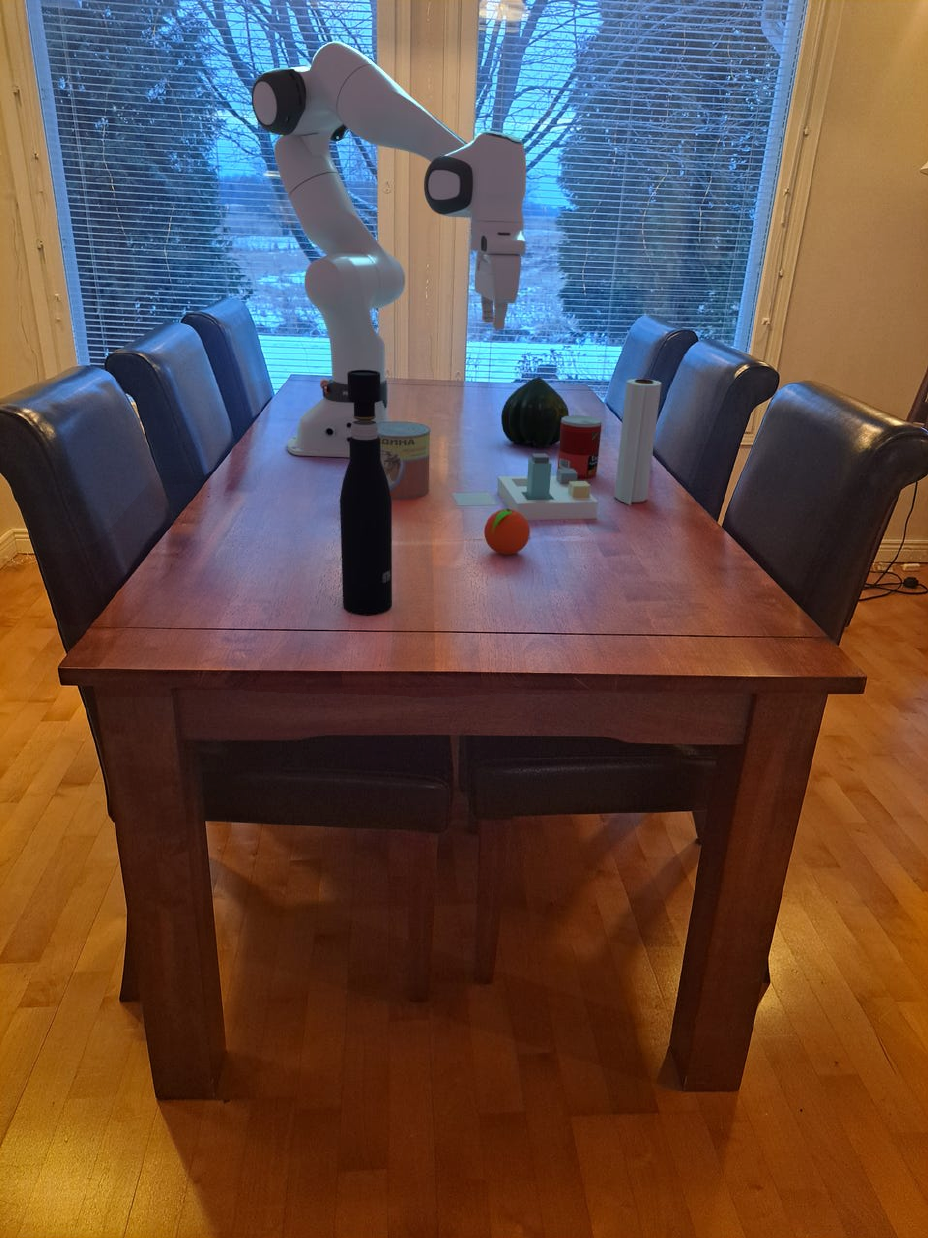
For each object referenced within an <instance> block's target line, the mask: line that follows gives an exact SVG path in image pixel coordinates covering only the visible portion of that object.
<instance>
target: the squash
mask: <svg viewBox="0 0 928 1238" xmlns="http://www.w3.org/2000/svg"><path fill="white" fill-rule="evenodd" d="M569 413H570V412H569V408H568V405H567V404H566V402H565V400H564V399H563V397H562V396H561V395H560V394H559V393H558V392H557V391H556V390H555V389H554V388H553V387H552V386H550V384H549V383H548V382H546V380H544V379H543V378H541V377H540V376H538V377H534V378H532V379H530V380H528V381H527V382H526V383H524V384H522V385H521V386H520V387H518V388H517V389H515V391H513V393H512V394H511V395H510V396H509V397H508V398H507V399H506V401H505V403H504V405H503V407H502V410H501V426H502V427H501V428H502V431H503V433H504V435H505V437H506V438H507V439H508V440H509V441H510V442H511V443H514V444H517V445H522V444H525V443H529V444H532V443H533V445H534V446H535V447H536V448H538V449H544V448H546V447H547V446H548V447H549V446H553V445H556V444H557V443H559V440H560V427H561V420H562V417H565V416H570V414H569Z"/></svg>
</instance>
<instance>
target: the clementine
mask: <svg viewBox="0 0 928 1238" xmlns="http://www.w3.org/2000/svg"><path fill="white" fill-rule="evenodd" d="M530 531H531V528H530V526H529V523H528V520H526V519H525V517H524V516H523V515H522V514H520V513H519V512H517V511H515V510H511V509H508V508H503V509H500V510H498V511H495V512H494V513H493V514H491V515H490V517H489V518H488V519H487V521H486V523H485V526H484V531H483V532H484V539H485V542H486V544H487V545H488V546H489V548H490V549H491V550H492V551H493V552H495V553H497V554H498V555H505V556H508V555H515V554H516V553H518V552H520V551H521V550H523V549H524V547H525V546H527V544H528V543H529V539H530V535H531V532H530Z"/></svg>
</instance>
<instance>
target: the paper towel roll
mask: <svg viewBox="0 0 928 1238" xmlns="http://www.w3.org/2000/svg"><path fill="white" fill-rule="evenodd" d="M625 385H626V386H625V396H624V404H623V414H622V415H623V416H622V424H621V431H620V432H621V433H620V440H619V449H618V459H617V467H616V468H617V470H616V479H615V486H614V487H615V488H614V498H616V499H617V500H618V501H619V502H623V503H625V504H627V505H629V506H632V503H642V502H645V501H646V500H648V495H649V494H648V493H649V485H650V479H651V478H650V475H651V469H652V468H651V467H652V462H653V461H652V460H653V455H654V453H653V452H654V447H655V446H654V444H655V437H656V429H657V423H658V414H659V405H660V396H661V391H662V390H661V389H662V382H661V381H659V380H654V379H644V378H634V379H627V380H626V384H625Z"/></svg>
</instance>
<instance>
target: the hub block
mask: <svg viewBox="0 0 928 1238" xmlns="http://www.w3.org/2000/svg"><path fill="white" fill-rule="evenodd" d="M577 475H578V473H577V472H576V471H575V470H574V469H557V468H556V475H551V478H550V491H549V500H527V499H526V491H527V476H528V475H521V476H519V475H512V476H504V475H503V476H502V475H501V476H500V475H499V476H497V486H496V487H497V489H496V490H497V491H496V493H497V494H498V495H499V498H501V500H502V501H503V503H504V504H505V506H506V507H507V509H511V510H515V511H517V512H519V513H520V514H522V515H523V516H524V517H525V519H526V520H527V521H543V520H545V521H546V520H547V521H548V520H587V519H597V515H598V506H599V502H598V500H597V499H596V498H595V497H594V496H593V495H592V494H591V489H592V488H591V487H592V486H591V484H589V483H588V482H587V481H586V480H578V479H577Z"/></svg>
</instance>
